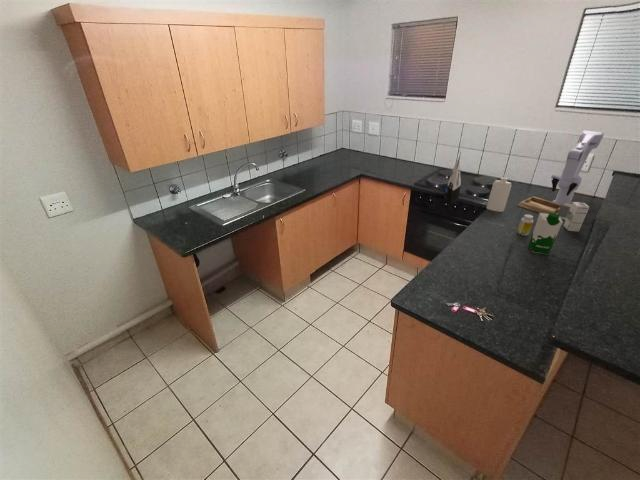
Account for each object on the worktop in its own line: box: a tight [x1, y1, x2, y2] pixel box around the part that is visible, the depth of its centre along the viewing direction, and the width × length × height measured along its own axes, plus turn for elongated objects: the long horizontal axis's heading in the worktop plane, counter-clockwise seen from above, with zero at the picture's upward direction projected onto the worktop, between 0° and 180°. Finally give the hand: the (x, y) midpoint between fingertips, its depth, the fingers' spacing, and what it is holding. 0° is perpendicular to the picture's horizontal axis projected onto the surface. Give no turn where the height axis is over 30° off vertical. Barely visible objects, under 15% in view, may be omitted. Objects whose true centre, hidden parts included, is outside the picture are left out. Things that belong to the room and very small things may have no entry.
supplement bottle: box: [516, 214, 534, 236], centre depth 166 cm, size 6×6×10 cm
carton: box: [518, 196, 562, 214], centre depth 194 cm, size 17×18×3 cm
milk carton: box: [528, 213, 564, 255], centre depth 149 cm, size 9×9×20 cm
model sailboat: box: [443, 151, 462, 205], centre depth 203 cm, size 10×24×30 cm, turn 157°
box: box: [557, 203, 572, 218], centre depth 184 cm, size 7×4×6 cm, turn 124°
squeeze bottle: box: [486, 176, 512, 213], centre depth 189 cm, size 10×20×5 cm
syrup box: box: [562, 201, 590, 232], centre depth 168 cm, size 6×6×14 cm
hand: (560, 193), depth 188 cm, fingers open, 7 cm apart
